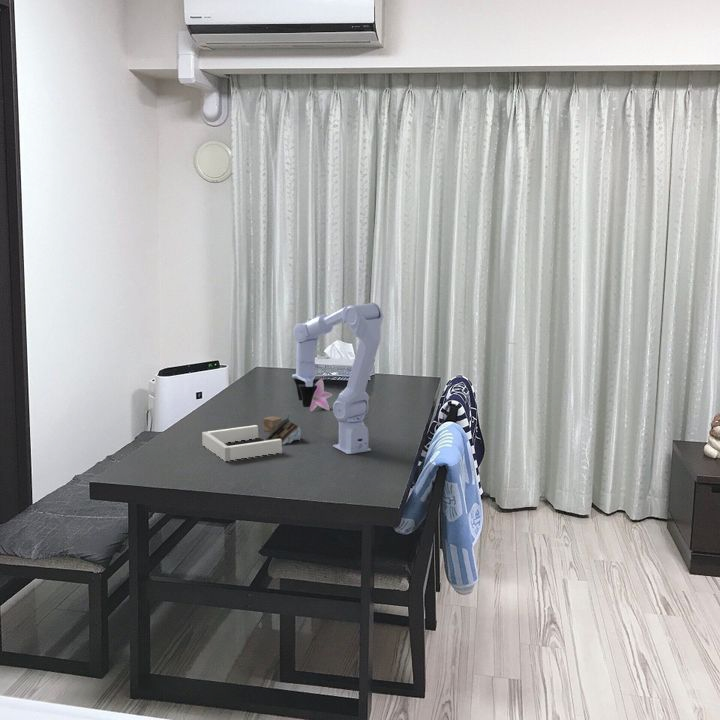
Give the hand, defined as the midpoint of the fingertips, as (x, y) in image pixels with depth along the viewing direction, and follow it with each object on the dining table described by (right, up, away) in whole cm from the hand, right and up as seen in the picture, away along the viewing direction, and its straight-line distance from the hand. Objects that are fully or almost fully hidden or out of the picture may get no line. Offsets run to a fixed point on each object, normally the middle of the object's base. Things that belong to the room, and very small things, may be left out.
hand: (304, 403), depth 264 cm
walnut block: (-11, -9, +8) cm, 16 cm away
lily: (+2, -4, +36) cm, 36 cm away
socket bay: (-17, -13, -13) cm, 25 cm away
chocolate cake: (-6, -12, -5) cm, 14 cm away
